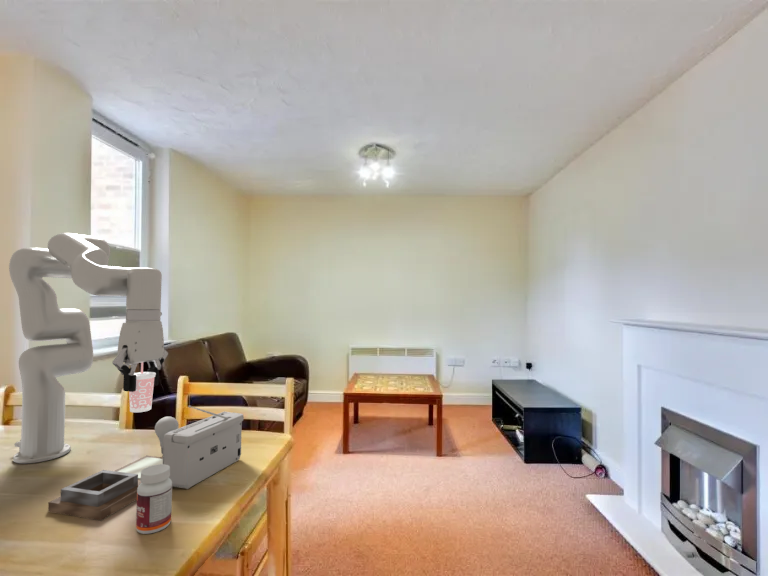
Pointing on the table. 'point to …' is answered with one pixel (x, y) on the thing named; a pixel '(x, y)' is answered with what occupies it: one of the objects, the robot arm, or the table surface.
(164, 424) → the lightbulb
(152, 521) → the pill bottle
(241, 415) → the stereo radio cassette player
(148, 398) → the beverage cup
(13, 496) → the table surface
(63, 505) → the socket board
